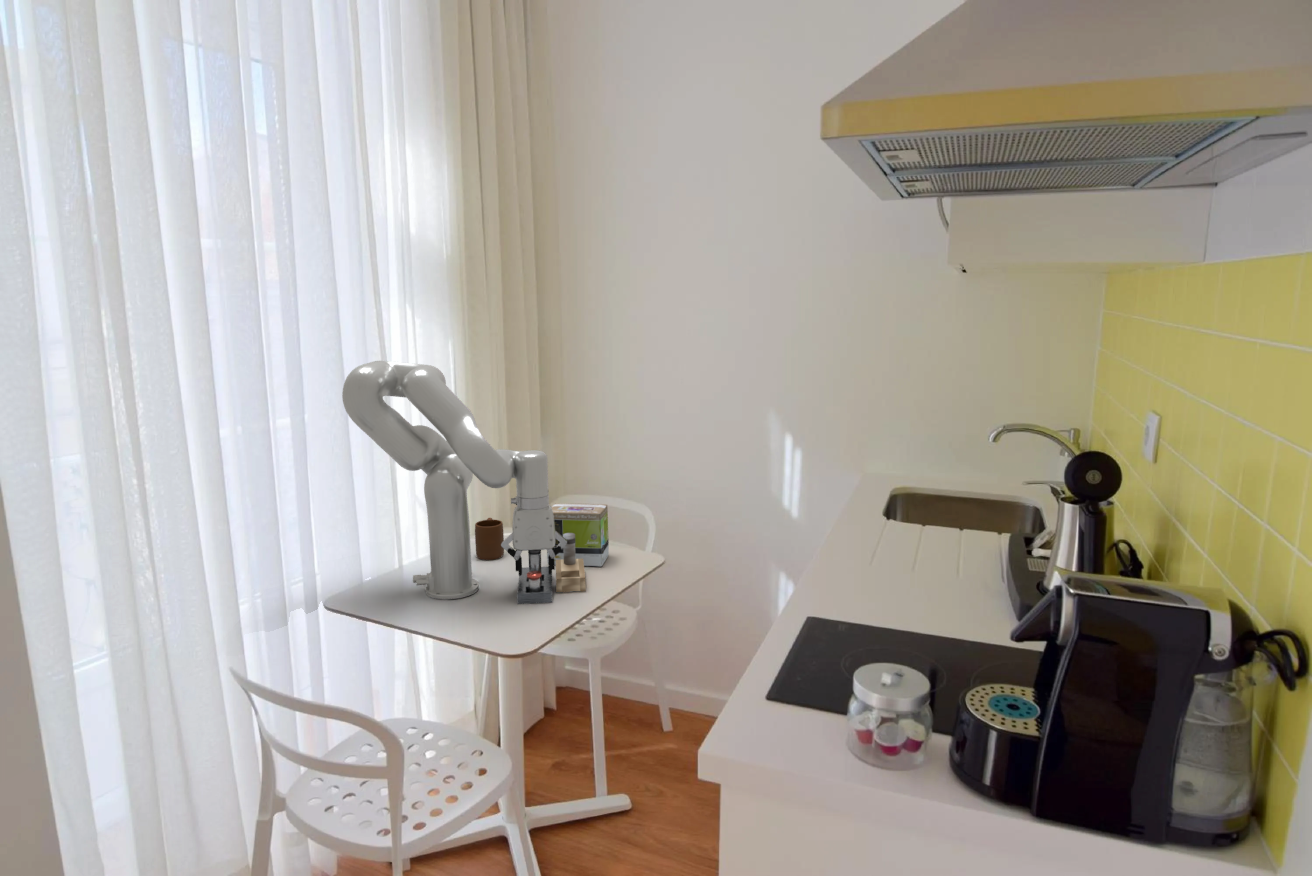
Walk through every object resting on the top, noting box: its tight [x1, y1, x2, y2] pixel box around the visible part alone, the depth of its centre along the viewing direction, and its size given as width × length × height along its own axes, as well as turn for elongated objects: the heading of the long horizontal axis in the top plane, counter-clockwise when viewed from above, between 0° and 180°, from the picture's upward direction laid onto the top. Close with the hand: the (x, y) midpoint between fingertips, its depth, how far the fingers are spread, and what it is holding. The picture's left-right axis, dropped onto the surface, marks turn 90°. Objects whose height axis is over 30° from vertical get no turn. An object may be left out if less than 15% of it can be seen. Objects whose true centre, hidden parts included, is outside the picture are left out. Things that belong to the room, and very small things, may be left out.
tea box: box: [546, 503, 610, 567], centre depth 211 cm, size 15×10×15 cm, turn 82°
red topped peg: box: [527, 571, 542, 593], centre depth 184 cm, size 3×3×5 cm
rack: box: [555, 533, 587, 593], centre depth 195 cm, size 7×14×11 cm, turn 7°
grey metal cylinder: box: [527, 550, 542, 581], centre depth 191 cm, size 3×3×11 cm
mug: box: [474, 517, 505, 561], centre depth 217 cm, size 12×8×9 cm, turn 10°
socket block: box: [516, 565, 553, 605], centre depth 191 cm, size 8×18×2 cm, turn 7°
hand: (535, 572), depth 192 cm, fingers open, 6 cm apart
